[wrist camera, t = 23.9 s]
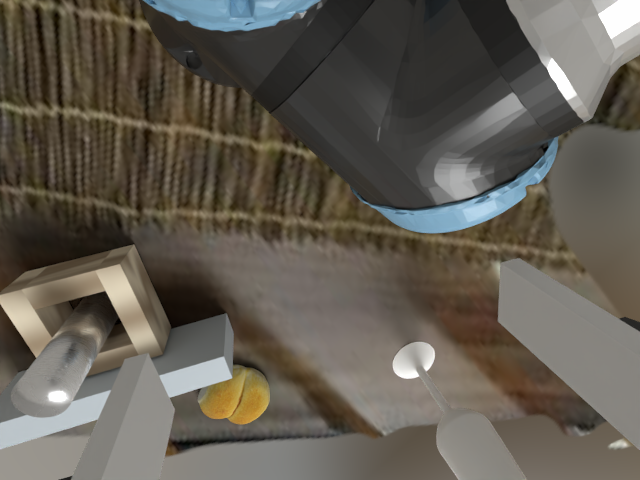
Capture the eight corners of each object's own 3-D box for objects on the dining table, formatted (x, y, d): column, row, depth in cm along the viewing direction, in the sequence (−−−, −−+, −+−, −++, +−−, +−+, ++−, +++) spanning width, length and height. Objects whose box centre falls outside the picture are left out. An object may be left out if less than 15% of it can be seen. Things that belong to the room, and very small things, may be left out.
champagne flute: (407, 385, 54) (520, 579, 33) (383, 362, 52) (489, 555, 30) (442, 359, 54) (581, 536, 32) (420, 333, 51) (555, 508, 29)
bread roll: (252, 417, 51) (253, 441, 47) (192, 400, 48) (188, 425, 44) (281, 373, 49) (284, 395, 45) (219, 353, 46) (218, 375, 42)
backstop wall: (18, 372, 41) (-30, 431, 34) (226, 313, 44) (223, 356, 36) (31, 391, 42) (-12, 452, 35) (233, 332, 45) (232, 378, 37)
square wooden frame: (25, 271, 37) (-5, 296, 32) (134, 244, 38) (119, 264, 34) (75, 354, 41) (54, 385, 37) (171, 326, 42) (163, 354, 38)
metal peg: (77, 292, 39) (-1, 386, 26) (115, 282, 39) (56, 369, 27) (94, 321, 40) (27, 424, 28) (130, 311, 41) (81, 407, 28)
